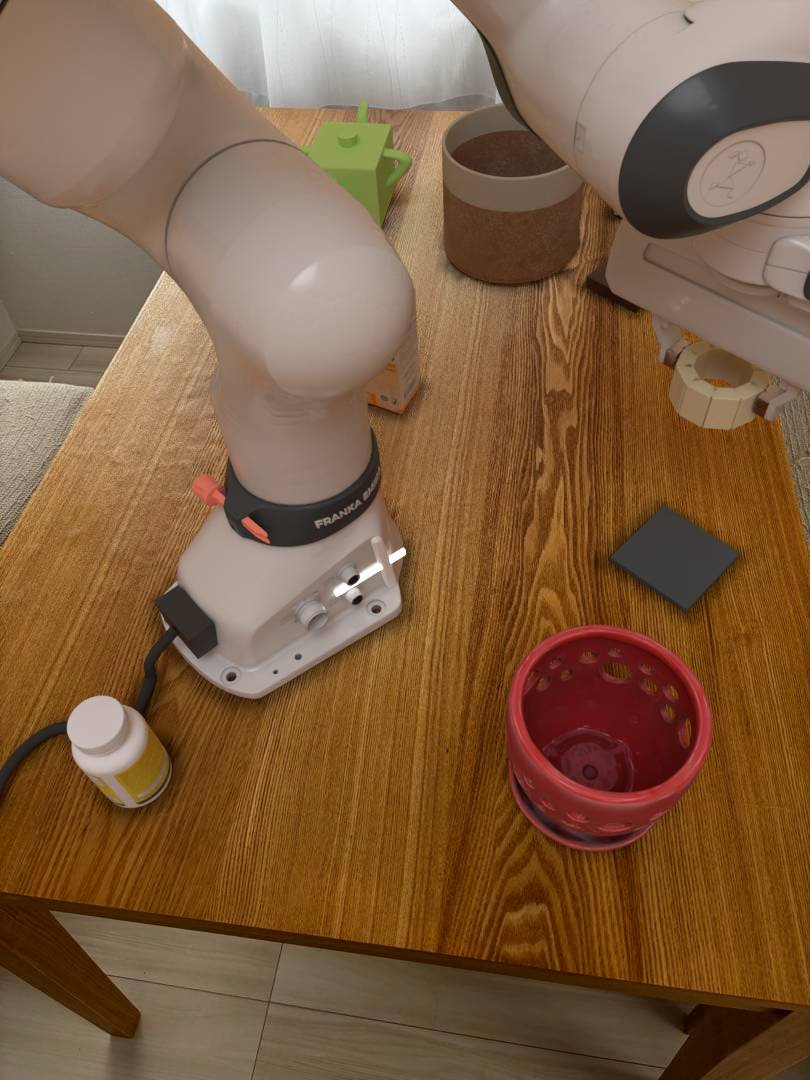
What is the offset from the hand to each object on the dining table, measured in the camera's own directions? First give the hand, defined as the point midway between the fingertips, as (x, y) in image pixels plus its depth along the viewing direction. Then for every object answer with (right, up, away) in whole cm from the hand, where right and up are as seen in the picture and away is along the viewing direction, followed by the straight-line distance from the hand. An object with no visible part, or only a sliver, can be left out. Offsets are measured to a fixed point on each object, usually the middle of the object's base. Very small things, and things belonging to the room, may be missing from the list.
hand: (718, 387), depth 64 cm
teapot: (-29, +31, +48) cm, 64 cm away
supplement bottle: (-44, -30, +4) cm, 53 cm away
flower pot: (-9, -29, +2) cm, 31 cm away
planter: (-10, +24, +42) cm, 49 cm away
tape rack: (+5, +20, +37) cm, 42 cm away
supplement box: (-26, +4, +28) cm, 38 cm away
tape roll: (0, -1, +1) cm, 1 cm away
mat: (+1, -13, +13) cm, 18 cm away
